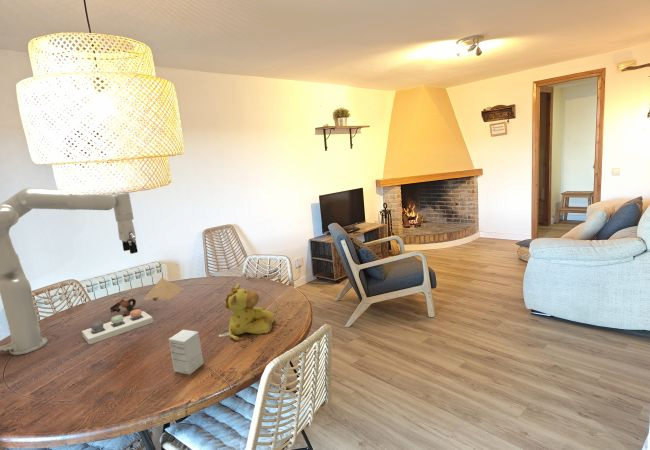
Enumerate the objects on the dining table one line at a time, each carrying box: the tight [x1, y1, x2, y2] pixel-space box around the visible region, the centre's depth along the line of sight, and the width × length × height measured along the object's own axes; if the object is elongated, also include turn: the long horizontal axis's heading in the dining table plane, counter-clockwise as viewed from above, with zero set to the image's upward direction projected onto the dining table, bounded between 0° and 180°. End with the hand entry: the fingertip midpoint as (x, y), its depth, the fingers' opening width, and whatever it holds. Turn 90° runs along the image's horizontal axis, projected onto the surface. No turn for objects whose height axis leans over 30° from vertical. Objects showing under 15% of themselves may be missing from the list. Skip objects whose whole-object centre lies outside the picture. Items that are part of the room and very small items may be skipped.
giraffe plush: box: [218, 283, 275, 342], centre depth 157 cm, size 20×24×19 cm
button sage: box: [110, 314, 124, 327], centre depth 167 cm, size 5×5×4 cm
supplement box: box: [168, 329, 204, 376], centre depth 130 cm, size 7×7×13 cm
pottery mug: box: [109, 298, 137, 317], centre depth 186 cm, size 12×10×8 cm
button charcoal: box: [89, 320, 104, 333], centre depth 162 cm, size 5×5×4 cm
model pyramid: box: [142, 277, 185, 301], centre depth 208 cm, size 17×17×10 cm
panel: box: [81, 310, 154, 346], centre depth 168 cm, size 26×12×2 cm, turn 134°
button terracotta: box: [129, 308, 142, 320], centre depth 172 cm, size 5×5×4 cm
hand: (130, 251), depth 181 cm, fingers open, 9 cm apart
